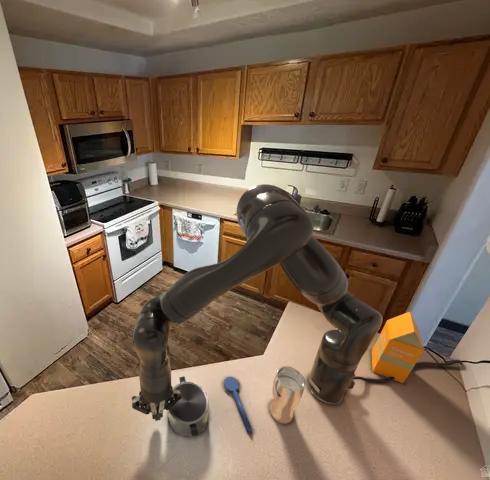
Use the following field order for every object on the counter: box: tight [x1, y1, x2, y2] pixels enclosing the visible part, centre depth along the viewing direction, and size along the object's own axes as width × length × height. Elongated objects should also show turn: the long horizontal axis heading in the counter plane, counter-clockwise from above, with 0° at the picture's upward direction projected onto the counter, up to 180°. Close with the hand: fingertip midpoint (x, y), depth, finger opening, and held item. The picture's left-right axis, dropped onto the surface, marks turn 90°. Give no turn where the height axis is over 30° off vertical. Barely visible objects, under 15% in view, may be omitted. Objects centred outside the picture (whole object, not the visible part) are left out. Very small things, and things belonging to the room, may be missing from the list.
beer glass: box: [269, 365, 306, 424], centre depth 68 cm, size 7×7×15 cm
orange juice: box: [371, 311, 425, 384], centre depth 77 cm, size 8×9×20 cm
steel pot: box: [167, 376, 210, 437], centre depth 70 cm, size 11×15×6 cm
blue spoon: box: [223, 376, 253, 433], centre depth 73 cm, size 4×15×1 cm, turn 12°
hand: (157, 416), depth 69 cm, fingers closed
